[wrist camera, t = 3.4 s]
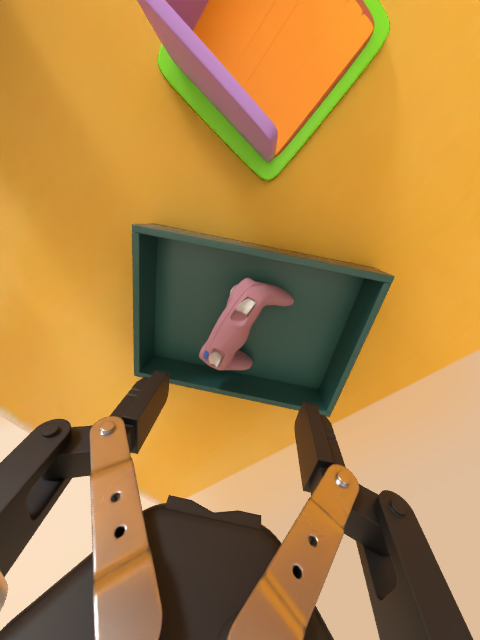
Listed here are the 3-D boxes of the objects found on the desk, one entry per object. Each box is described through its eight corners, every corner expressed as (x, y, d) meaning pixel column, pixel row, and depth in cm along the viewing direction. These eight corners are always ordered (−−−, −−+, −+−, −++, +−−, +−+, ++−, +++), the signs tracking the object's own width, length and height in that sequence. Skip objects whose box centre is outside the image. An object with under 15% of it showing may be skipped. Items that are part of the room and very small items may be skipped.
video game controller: (263, 272, 24) (227, 269, 18) (300, 296, 22) (275, 302, 16) (223, 344, 28) (182, 362, 22) (252, 368, 26) (216, 395, 20)
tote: (152, 223, 22) (131, 224, 18) (373, 267, 21) (395, 276, 18) (150, 356, 28) (133, 375, 24) (321, 392, 28) (329, 417, 24)
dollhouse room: (154, 69, 17) (91, -18, 11) (265, -153, 13) (266, -498, 7) (268, 188, 20) (270, 172, 13) (394, 34, 15) (483, -95, 9)
